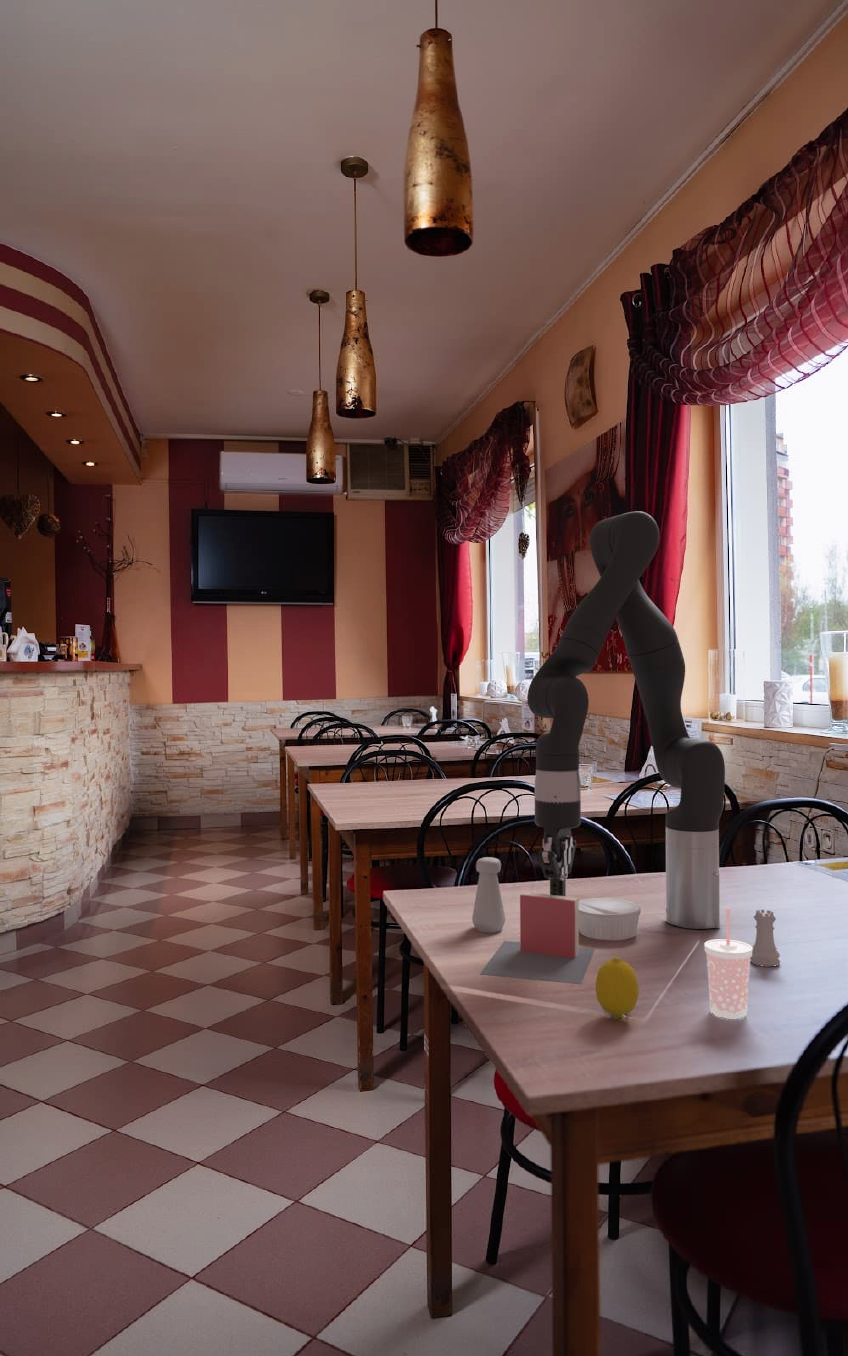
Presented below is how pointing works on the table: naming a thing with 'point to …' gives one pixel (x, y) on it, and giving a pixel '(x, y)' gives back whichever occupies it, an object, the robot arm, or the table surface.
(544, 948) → the tile
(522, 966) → the slate mat
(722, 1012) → the beverage cup
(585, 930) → the ramekin
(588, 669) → the robot arm
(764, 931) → the rook chess piece
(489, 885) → the salt shaker
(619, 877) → the table surface
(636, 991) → the lemon
